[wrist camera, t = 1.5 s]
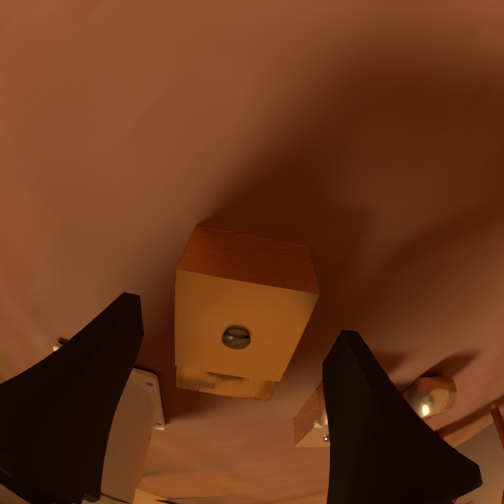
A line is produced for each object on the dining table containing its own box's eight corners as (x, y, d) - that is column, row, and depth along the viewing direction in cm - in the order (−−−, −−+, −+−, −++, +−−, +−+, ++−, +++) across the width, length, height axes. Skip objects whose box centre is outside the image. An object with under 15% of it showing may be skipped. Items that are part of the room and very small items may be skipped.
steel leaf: (398, 416, 20) (404, 444, 17) (293, 420, 19) (294, 453, 16) (448, 367, 16) (461, 399, 13) (330, 368, 15) (337, 412, 13)
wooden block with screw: (196, 224, 11) (174, 271, 8) (308, 244, 11) (320, 297, 8) (187, 352, 15) (175, 399, 12) (264, 365, 15) (263, 413, 13)
